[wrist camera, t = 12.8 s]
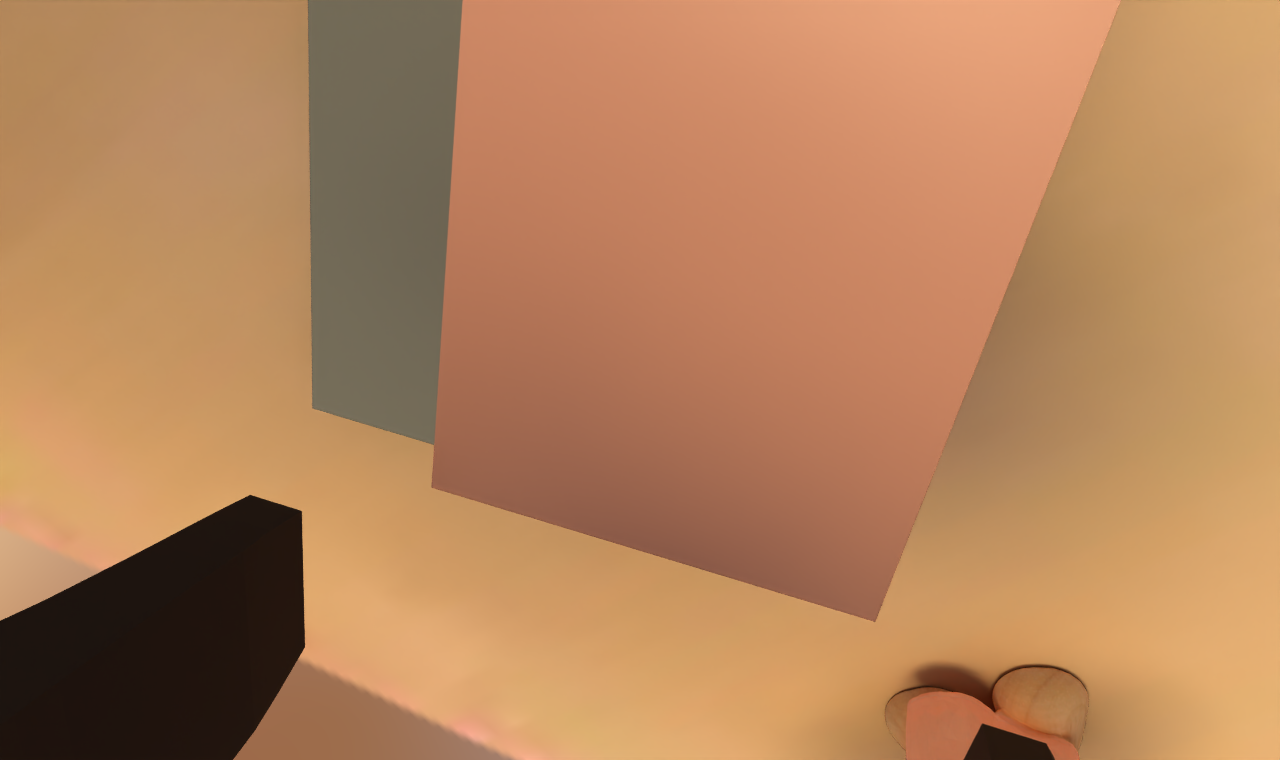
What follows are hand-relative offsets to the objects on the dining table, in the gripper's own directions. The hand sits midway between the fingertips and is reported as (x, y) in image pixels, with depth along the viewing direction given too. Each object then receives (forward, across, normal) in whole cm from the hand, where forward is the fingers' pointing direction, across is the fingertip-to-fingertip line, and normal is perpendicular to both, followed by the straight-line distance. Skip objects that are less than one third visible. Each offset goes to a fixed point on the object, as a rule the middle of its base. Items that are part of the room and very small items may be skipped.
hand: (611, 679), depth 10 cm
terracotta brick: (+5, 0, -5) cm, 7 cm away
